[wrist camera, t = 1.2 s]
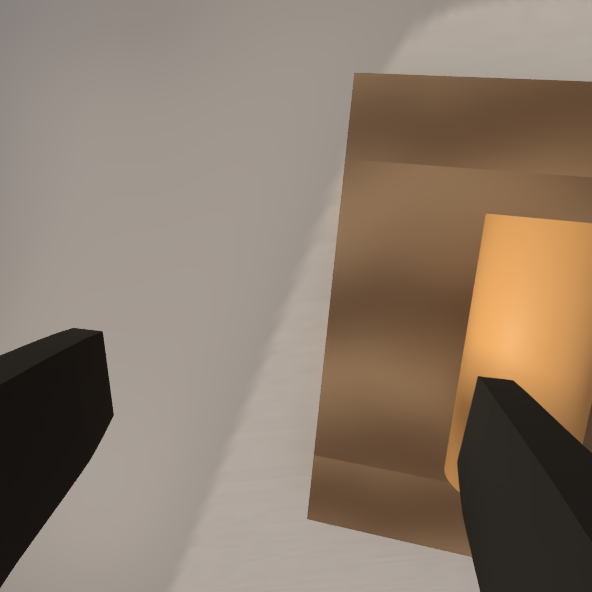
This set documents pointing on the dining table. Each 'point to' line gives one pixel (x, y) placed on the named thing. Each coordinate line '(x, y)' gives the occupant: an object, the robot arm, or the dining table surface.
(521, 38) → the dining table surface
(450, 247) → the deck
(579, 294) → the roller
